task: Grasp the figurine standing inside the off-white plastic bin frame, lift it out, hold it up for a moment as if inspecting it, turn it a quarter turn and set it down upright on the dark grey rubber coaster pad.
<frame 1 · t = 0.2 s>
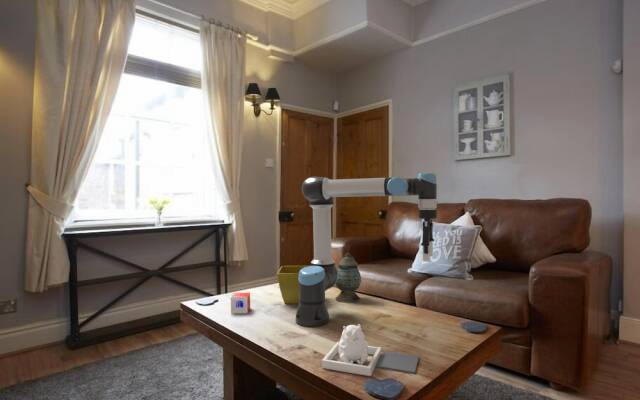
hand: (428, 258, 155), 28 cm above the table, fingers open, 13 cm apart
bin frame: (352, 361, 121), on the table
figurine: (352, 361, 121), resting in bin frame
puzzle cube: (240, 311, 178), on the table
flower pot: (297, 300, 194), on the table
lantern: (348, 299, 195), on the table
coaster pad: (398, 362, 120), on the table
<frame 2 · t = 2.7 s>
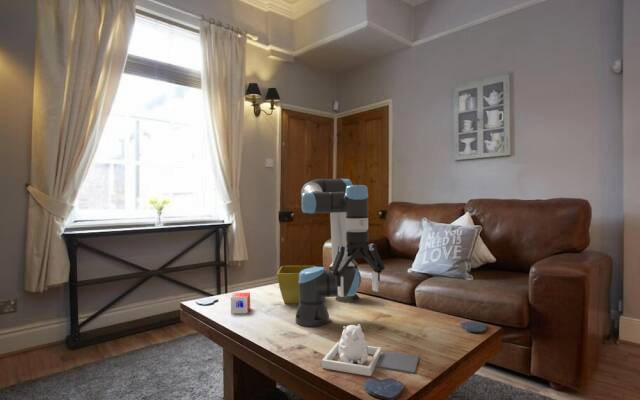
hand: (358, 293, 122), 22 cm above the table, fingers open, 13 cm apart
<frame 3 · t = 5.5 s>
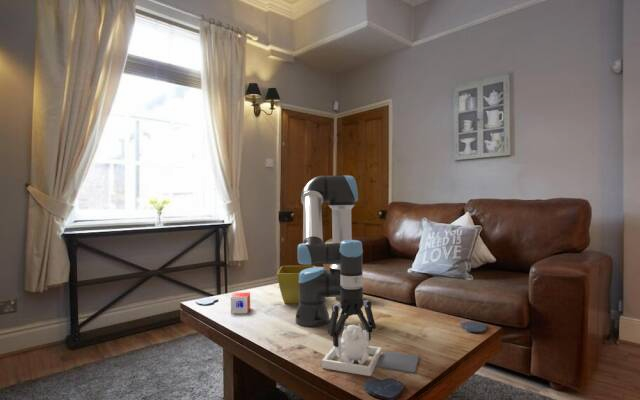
hand: (352, 353, 121), 3 cm above the table, fingers closed on figurine, 10 cm apart
figurine: (353, 361, 122), resting in bin frame, touching gripper
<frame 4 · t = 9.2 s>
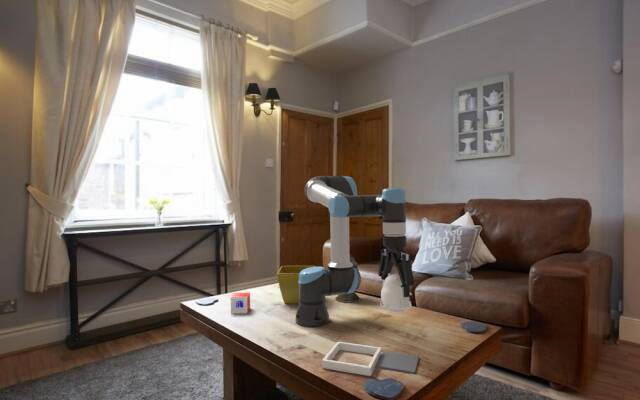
hand: (395, 302, 119), 20 cm above the table, fingers closed on figurine, 10 cm apart
figurine: (395, 311, 120), point 17 cm above the table, touching gripper
everything else where it was.
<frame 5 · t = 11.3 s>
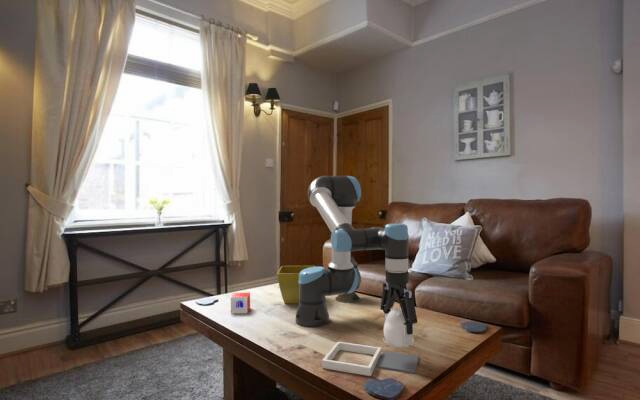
hand: (398, 337, 120), 8 cm above the table, fingers closed on figurine, 10 cm apart
figurine: (397, 346, 120), point 5 cm above the table, touching gripper
everything else where it was.
when the fingers open (4 cm above the table, at t = 13.1 s): figurine stays where it is, resting on coaster pad.
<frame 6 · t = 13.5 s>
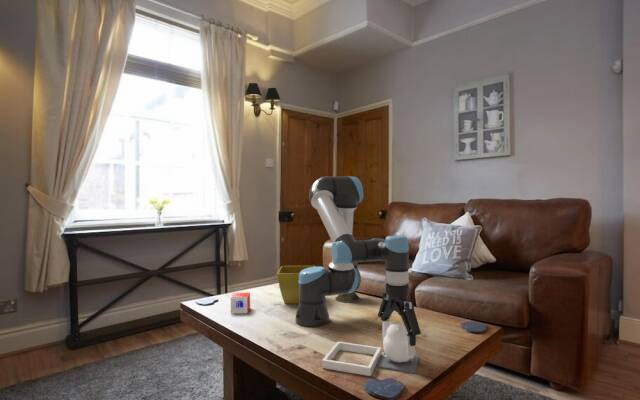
hand: (398, 346, 120), 5 cm above the table, fingers open, 13 cm apart
figurine: (397, 360, 120), resting on coaster pad
everything else where it was.
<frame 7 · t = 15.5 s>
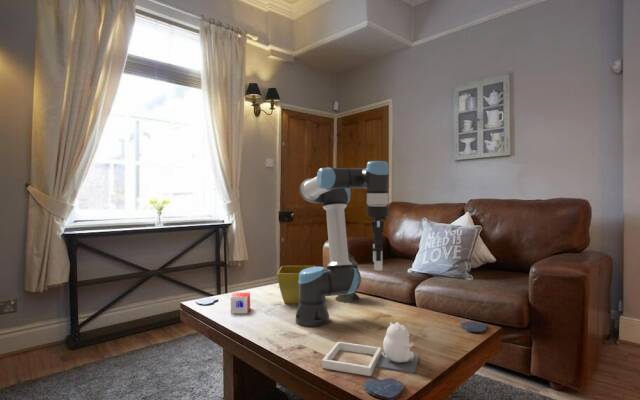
hand: (377, 265, 127), 31 cm above the table, fingers open, 13 cm apart
nothing on the table moved.
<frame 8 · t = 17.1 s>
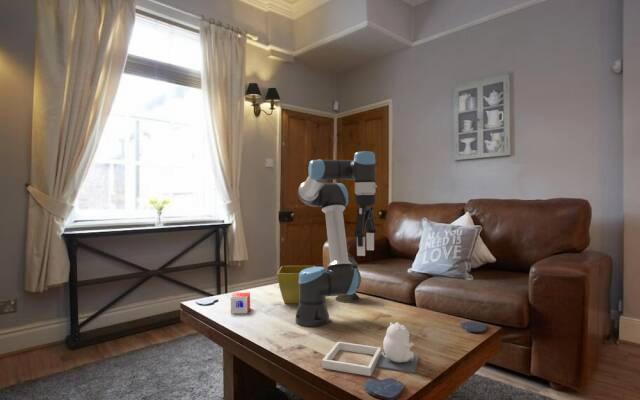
hand: (365, 252, 132), 35 cm above the table, fingers open, 13 cm apart
nothing on the table moved.
at the end: figurine inside the target area on the coaster pad (0.6 cm from its centre), point 0.4 cm above the coaster pad's base; figurine tilted 0°; the gripper is holding nothing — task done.
